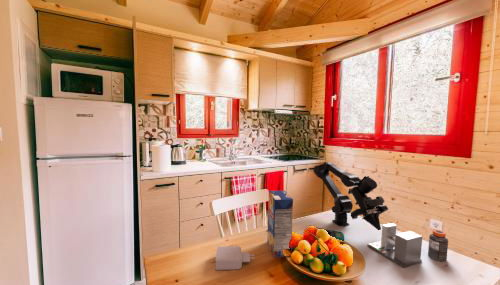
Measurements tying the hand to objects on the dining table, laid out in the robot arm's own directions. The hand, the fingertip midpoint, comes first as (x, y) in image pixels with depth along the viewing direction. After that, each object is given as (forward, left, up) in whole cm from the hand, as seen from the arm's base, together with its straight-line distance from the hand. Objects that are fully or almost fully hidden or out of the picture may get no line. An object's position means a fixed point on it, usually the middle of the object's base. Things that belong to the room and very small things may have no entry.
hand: (379, 229), depth 98 cm
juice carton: (-6, -46, -8) cm, 47 cm away
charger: (0, -66, -8) cm, 66 cm away
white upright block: (+6, 0, -6) cm, 8 cm away
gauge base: (+7, +1, -7) cm, 10 cm away
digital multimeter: (-11, -19, -8) cm, 23 cm away
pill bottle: (+13, +17, -8) cm, 22 cm away
